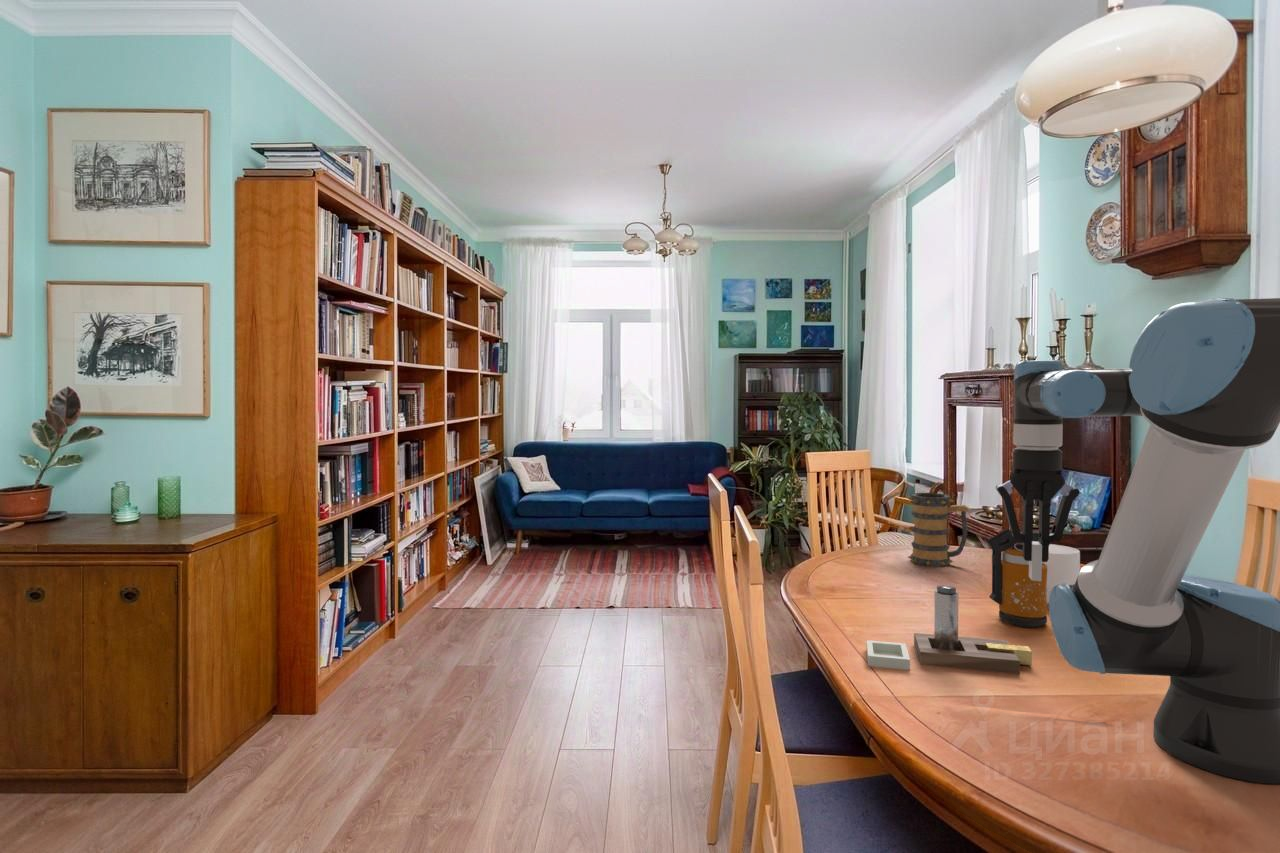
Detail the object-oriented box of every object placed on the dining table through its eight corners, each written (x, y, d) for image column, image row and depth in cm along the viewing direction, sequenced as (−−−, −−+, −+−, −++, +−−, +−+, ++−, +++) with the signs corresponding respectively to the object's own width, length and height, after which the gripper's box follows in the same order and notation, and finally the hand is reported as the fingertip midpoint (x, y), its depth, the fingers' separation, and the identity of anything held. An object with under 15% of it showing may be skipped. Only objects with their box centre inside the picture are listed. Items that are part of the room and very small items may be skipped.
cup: (1031, 603, 156) (1032, 553, 155) (1016, 589, 167) (1016, 542, 167) (1087, 606, 153) (1088, 555, 153) (1068, 592, 164) (1068, 544, 164)
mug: (909, 555, 205) (909, 491, 204) (971, 561, 196) (972, 494, 196) (903, 564, 193) (904, 496, 193) (969, 571, 185) (970, 500, 184)
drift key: (1031, 665, 118) (1032, 651, 117) (988, 661, 120) (988, 647, 119) (1028, 660, 120) (1028, 646, 120) (985, 656, 122) (985, 642, 122)
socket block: (1019, 677, 115) (1019, 660, 115) (920, 668, 119) (920, 651, 119) (1005, 656, 124) (1005, 640, 124) (914, 648, 129) (914, 632, 129)
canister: (1053, 630, 138) (1054, 534, 137) (996, 627, 140) (996, 533, 139) (1037, 616, 147) (1038, 526, 146) (983, 613, 149) (983, 525, 148)
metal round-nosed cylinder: (959, 661, 120) (960, 591, 120) (935, 659, 121) (936, 589, 121) (956, 653, 124) (956, 585, 124) (933, 651, 125) (933, 583, 125)
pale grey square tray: (910, 673, 117) (910, 659, 117) (868, 669, 119) (868, 655, 119) (905, 656, 125) (905, 643, 125) (866, 653, 127) (866, 640, 127)
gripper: (1074, 446, 119) (1071, 576, 120) (992, 445, 123) (991, 570, 124) (1086, 450, 112) (1083, 588, 113) (999, 449, 116) (997, 581, 117)
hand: (1035, 578), depth 119 cm, fingers closed
